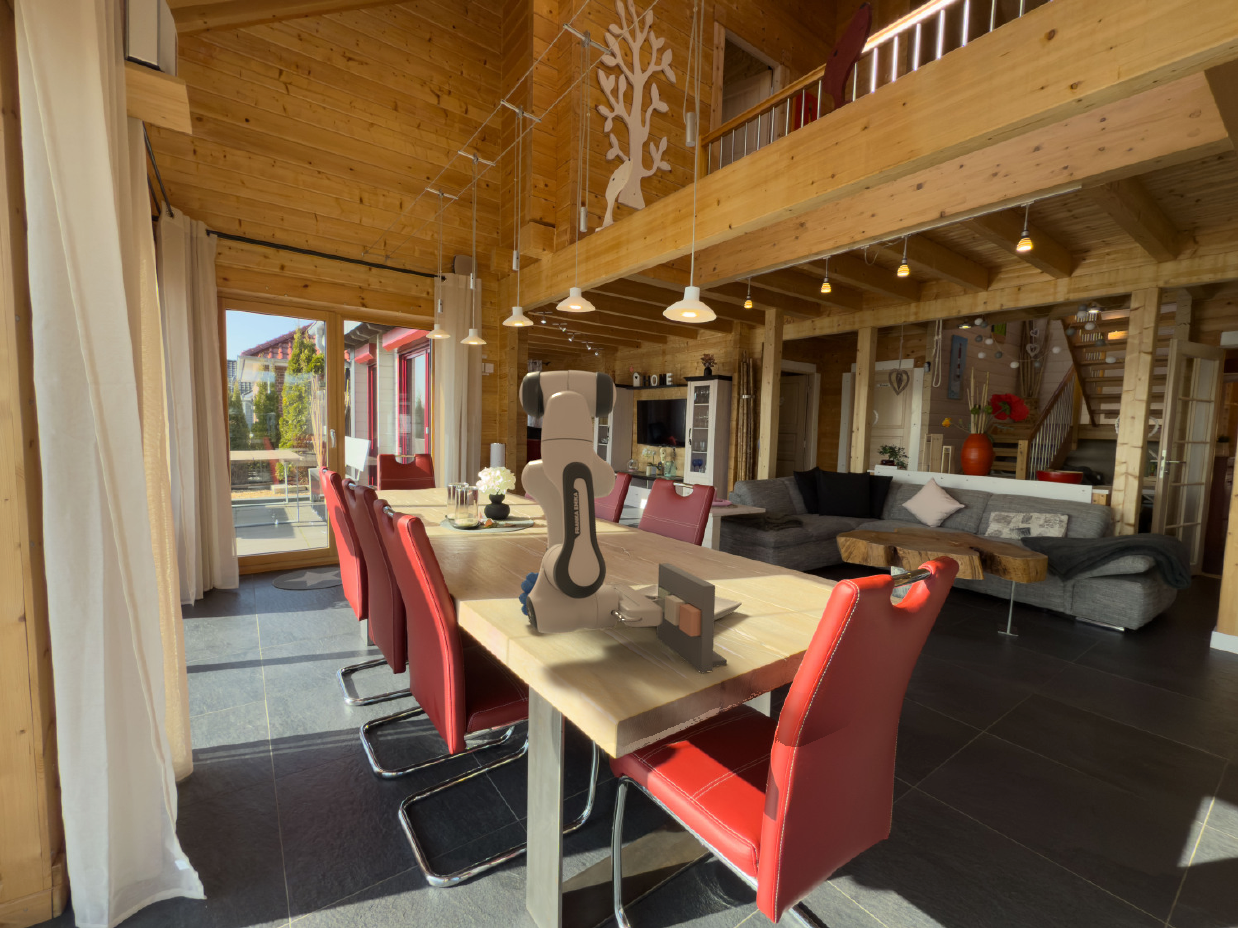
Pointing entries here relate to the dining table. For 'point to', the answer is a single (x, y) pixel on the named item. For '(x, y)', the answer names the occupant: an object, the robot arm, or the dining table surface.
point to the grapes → (527, 589)
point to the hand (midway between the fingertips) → (662, 600)
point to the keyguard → (702, 597)
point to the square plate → (721, 604)
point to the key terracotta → (690, 620)
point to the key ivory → (673, 608)
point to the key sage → (663, 595)
